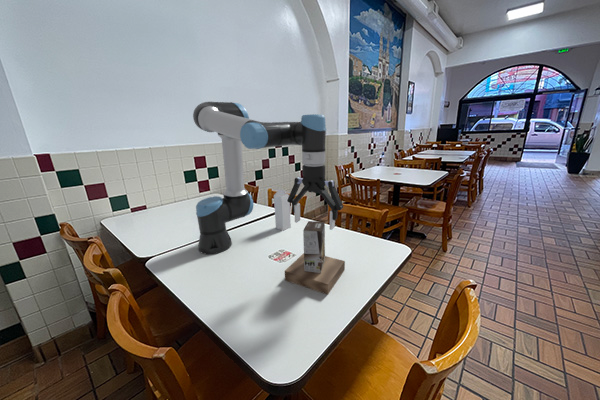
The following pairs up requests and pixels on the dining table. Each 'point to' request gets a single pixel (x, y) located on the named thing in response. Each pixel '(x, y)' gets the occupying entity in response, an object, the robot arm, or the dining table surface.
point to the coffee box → (314, 246)
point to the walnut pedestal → (316, 274)
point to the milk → (282, 210)
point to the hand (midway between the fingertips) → (314, 224)
